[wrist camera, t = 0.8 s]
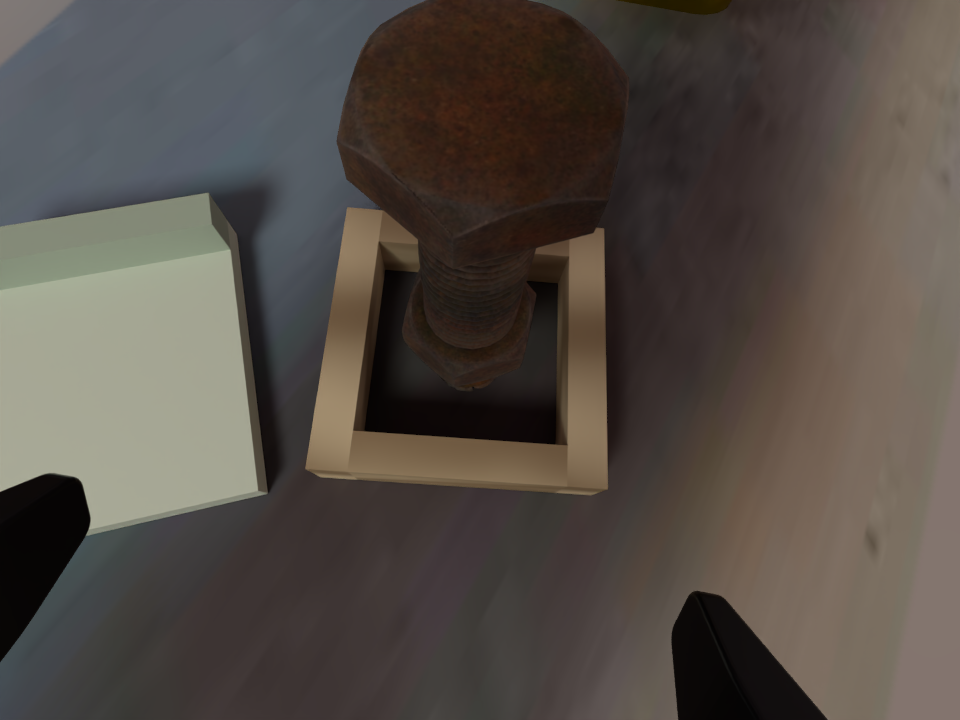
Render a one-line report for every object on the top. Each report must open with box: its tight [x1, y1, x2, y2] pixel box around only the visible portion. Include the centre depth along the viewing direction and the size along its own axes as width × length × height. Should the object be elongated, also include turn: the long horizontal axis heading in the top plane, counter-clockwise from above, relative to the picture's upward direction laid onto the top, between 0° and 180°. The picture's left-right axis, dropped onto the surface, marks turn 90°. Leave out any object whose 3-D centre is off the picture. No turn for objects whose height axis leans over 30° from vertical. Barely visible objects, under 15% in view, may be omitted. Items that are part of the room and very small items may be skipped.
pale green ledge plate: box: [0, 193, 268, 536], centre depth 22 cm, size 12×10×3 cm
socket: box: [305, 207, 608, 495], centre depth 23 cm, size 11×11×2 cm
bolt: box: [337, 0, 629, 391], centre depth 17 cm, size 6×5×15 cm
